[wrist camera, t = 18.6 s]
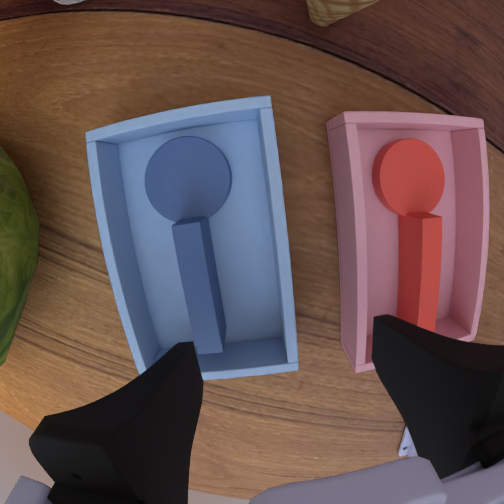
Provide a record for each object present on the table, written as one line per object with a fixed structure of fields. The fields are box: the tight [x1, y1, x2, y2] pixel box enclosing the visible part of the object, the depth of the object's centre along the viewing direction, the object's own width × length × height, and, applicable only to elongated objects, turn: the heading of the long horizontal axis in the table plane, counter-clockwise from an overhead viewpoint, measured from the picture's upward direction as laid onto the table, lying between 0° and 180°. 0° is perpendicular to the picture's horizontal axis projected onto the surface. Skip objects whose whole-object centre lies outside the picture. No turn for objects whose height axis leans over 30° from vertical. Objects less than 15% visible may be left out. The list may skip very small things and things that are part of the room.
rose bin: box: [326, 111, 489, 373], centre depth 16 cm, size 14×9×4 cm, turn 7°
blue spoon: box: [145, 136, 232, 354], centre depth 16 cm, size 11×5×3 cm, turn 7°
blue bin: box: [85, 95, 299, 380], centre depth 16 cm, size 14×9×4 cm, turn 7°
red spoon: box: [372, 138, 445, 332], centre depth 16 cm, size 11×5×3 cm, turn 7°
